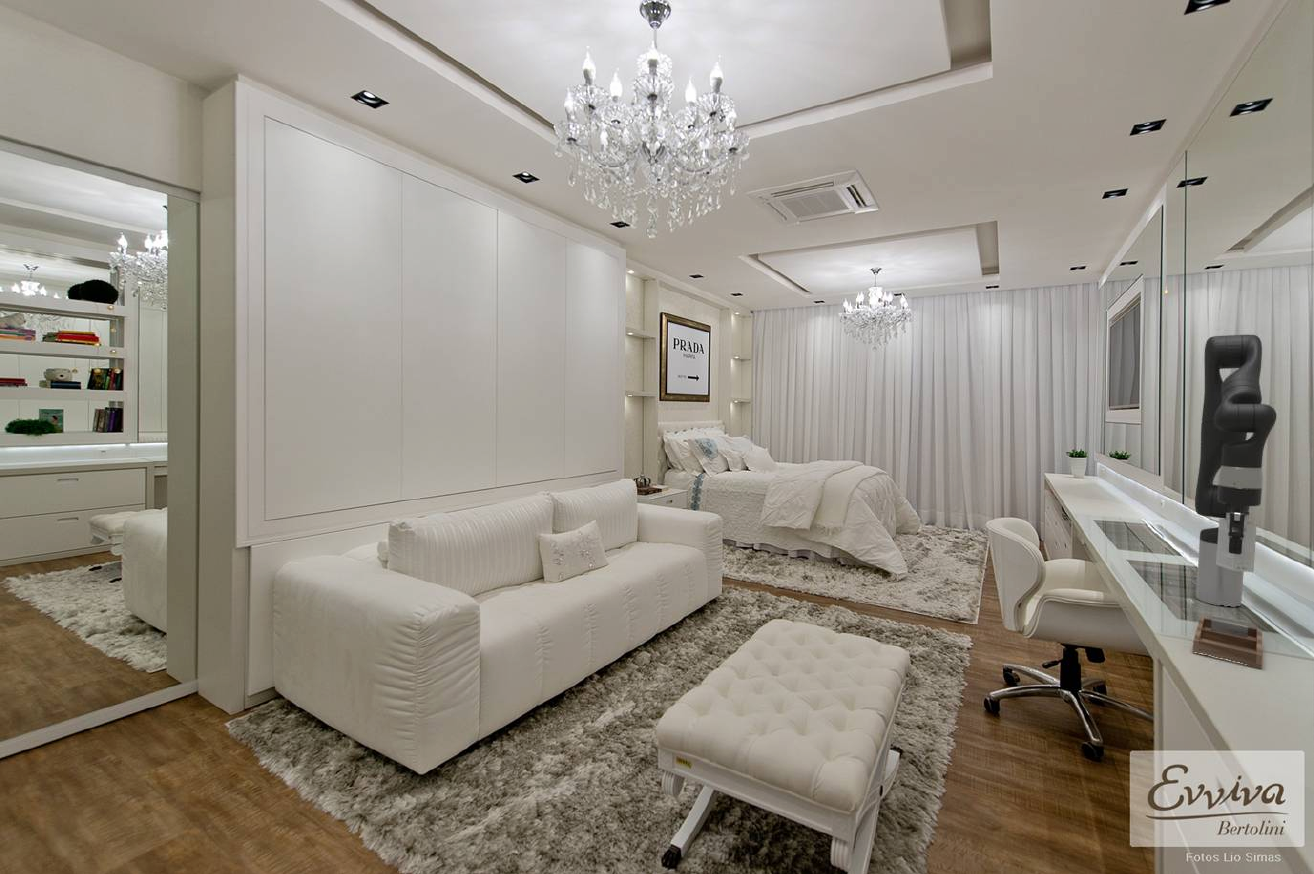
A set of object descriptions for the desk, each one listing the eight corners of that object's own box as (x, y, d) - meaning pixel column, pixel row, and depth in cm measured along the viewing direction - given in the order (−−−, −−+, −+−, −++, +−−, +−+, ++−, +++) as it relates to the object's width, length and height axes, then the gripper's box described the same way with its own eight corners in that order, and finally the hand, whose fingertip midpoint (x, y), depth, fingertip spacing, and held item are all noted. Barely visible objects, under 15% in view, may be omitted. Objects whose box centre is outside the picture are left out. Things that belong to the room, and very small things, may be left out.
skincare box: (1254, 572, 139) (1257, 523, 138) (1233, 571, 140) (1237, 523, 139) (1234, 565, 145) (1237, 518, 144) (1214, 564, 146) (1218, 518, 145)
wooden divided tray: (1199, 628, 143) (1200, 609, 142) (1260, 641, 135) (1262, 621, 135) (1192, 653, 129) (1194, 631, 128) (1261, 669, 121) (1262, 646, 121)
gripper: (1219, 480, 149) (1215, 543, 150) (1217, 486, 139) (1212, 553, 140) (1261, 483, 143) (1257, 548, 144) (1262, 489, 133) (1257, 559, 134)
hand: (1235, 550), depth 142 cm, fingers closed on skincare box, 7 cm apart
